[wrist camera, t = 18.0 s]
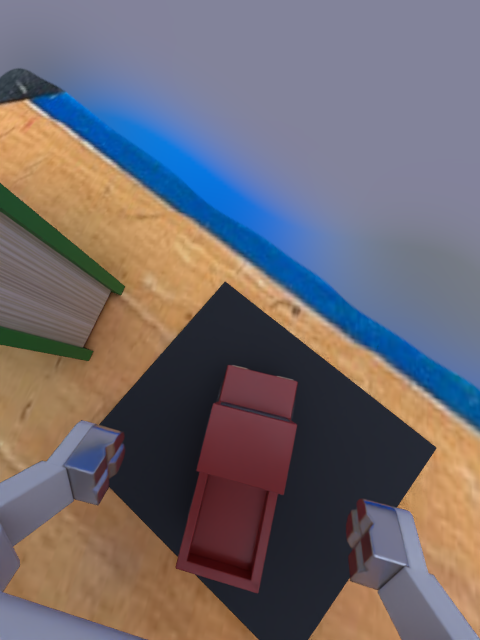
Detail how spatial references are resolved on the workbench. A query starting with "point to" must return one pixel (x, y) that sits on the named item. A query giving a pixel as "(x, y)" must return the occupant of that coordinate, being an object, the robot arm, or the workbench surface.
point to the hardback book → (46, 285)
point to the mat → (305, 467)
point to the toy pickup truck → (240, 478)
